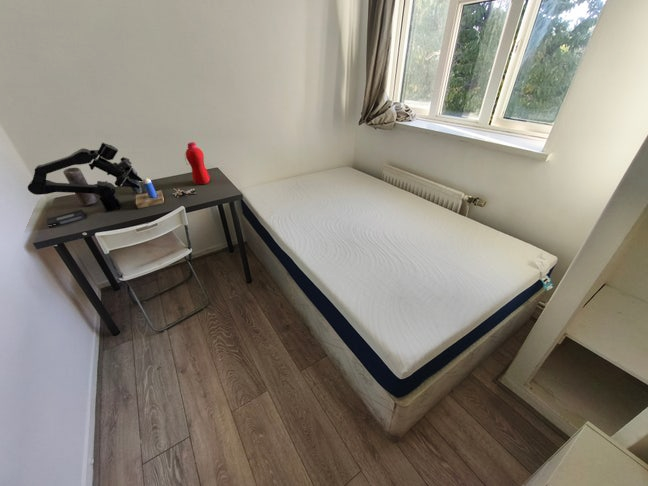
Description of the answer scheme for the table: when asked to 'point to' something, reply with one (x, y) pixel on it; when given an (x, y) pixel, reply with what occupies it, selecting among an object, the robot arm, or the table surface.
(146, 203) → the holder
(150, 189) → the white topped blue rod
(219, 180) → the table surface
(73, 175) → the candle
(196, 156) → the water bottle
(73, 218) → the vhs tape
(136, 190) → the beverage cup
